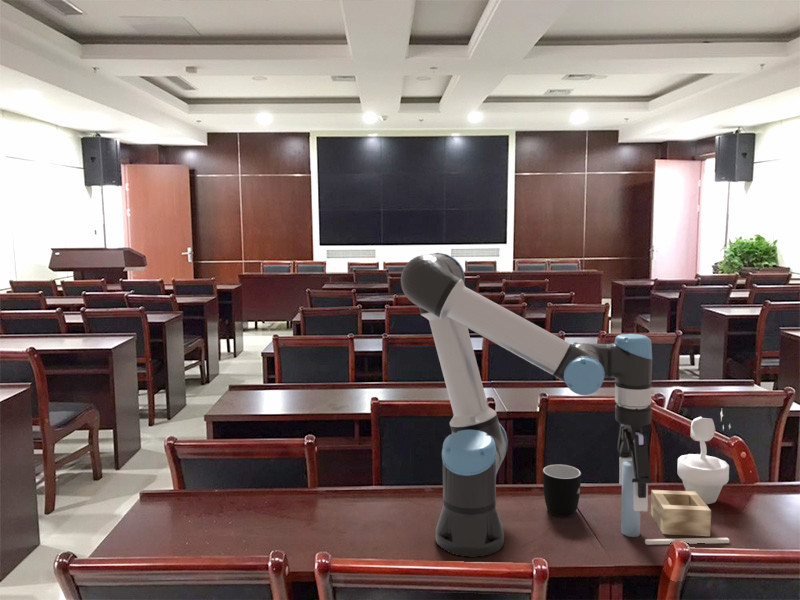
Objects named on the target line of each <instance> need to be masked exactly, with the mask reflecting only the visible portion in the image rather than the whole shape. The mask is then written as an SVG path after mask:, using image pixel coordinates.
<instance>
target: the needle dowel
mask: <svg viewBox="0 0 800 600" xmlns="http://www.w3.org/2000/svg"><path fill="white" fill-rule="evenodd" d="M632 479H635V475H634V468H633V462H632V461H625V462H623V463H622V485H621V509H620V510H621V513H620V514H621V515H620V518H621V519H620V532H621V534H622V535H624V536H625V537H629V538H636V537H639V536H640V535H641V511H634V509H633V507H634V482H632Z"/></svg>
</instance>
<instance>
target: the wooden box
mask: <svg viewBox="0 0 800 600" xmlns="http://www.w3.org/2000/svg"><path fill="white" fill-rule="evenodd" d="M650 496H651V497H650V516H651V517H652V518H653V520H654V522H655V523H656V525H657V526H658V528H659V530H660V532H661V533H662V535H675V536H696V537H711V521H712V510H711V508H709V506H708V504H705V503H704V501H703V500H702V499H701V498H700V496H699V495H698V494H697V493H696V492H694V491H686V490H663V489H651V491H650Z"/></svg>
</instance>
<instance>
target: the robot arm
mask: <svg viewBox="0 0 800 600" xmlns="http://www.w3.org/2000/svg"><path fill="white" fill-rule="evenodd" d="M400 275H401V276H400V286H401V289H402V292H403V294H404V296H405V297H406V298H407V300H409V301H410V302H411V303H412V304H414V305H416V306H417V307H418V308H419V314H420V316H422V317H424V318H425V319H427V320H428V321H429V326H430V327H429V328H430V329H431V334H432V337H433V341H434V344H435V348H436V349H435V350H436V352H437V357H438V360H439V363H440V368H441V372H442V376H443V378H444V383H445V386H446V387H445V388H446V391H447V395H448V398H449V402H450V406H451V410H452V414H453V416H452V418H451V419H450V421H449V426H450V429H451V434H449V435H448V436H446V437H445V439H444V441H443V443H442V449H441V460H442V502H443V503H442V504H443V505H442V509H441V511H440V514H439V518H438V522H437V524H436V527H435V542H436V544H437V546H438V545H439V546H440V547H441V548H440V547H439V546H438V547H439V548H440V549H442V548H443V549H444V550H443V549H442V550H443V551H445V550H446V551H449V552H451V553H454V554H457V555H456V556H458V555H462V556H461V557H464V556H469V557H468V558H478V557H477V556H481V557H486V556H485V555H487V556H490V555H493V554H494V553H496V552H499V551H500V550H501V549H502V548H503V546H504V543H505V532H504V528H503V525H502V521H501V519H500V515H499V512H498V510H497V503H496V501H497V487H496V486H497V474H498V471H499V470H500V467H501V465H502V463H503V461H504V459H505V458H506V455H507V451H508V446H509V445H508V444H509V443H508V437H507V432H506V430H505V428H504V427H503V425H502V424H501V423H500V422H499V418H498V414H497V411H496V410H494V409H493V408H491V407H490V406H489V404H488V400H487V398H486V397H487V396H486V393H485V389H484V386H483V382H482V378H481V375H480V369H479V366H478V363H477V358H476V354H475V350H474V348H473V347H474V346H473V343H472V339H471V337H470V336H471V335H470V333H469V332H470V331H469V330H471V331H473V332H474V333H476V334H478V335H480V336H481V337H483V338H486V339H487V340H489V341H490V342H492V343H493V344H495V345H498V346H500V347H501V348H503V349H505V350H506V351H508V352H510V353H512V354H513V355H516V356H518V357H519V358H521V359H523V360H524V361H527V362H529V364H532V365H534V366H535V367H537V368H539V369H541V370H542V371H544V372H545V373H546V372H547V373H548V374H550V375H552V376H554V377H555V378H556V379H559V381H562V382H564V383H565V385H566V386H567V387H568V389H569V391H572V393H574V394H577V395H579V396H588V395H589V396H590V395H593V394H594V393H596V392H598V390H599V389H600V388H601V387H602V385H603V383H604V380H605V378H610V379H612V378H614V381H615V383H614V402H615V403H616V404H615V405H614V408H615V409H614V410H615V411H614V413H615V414H614V419H615V421H616V422H617V423H619V432H618V440H617V447H616V450H617V452H618V455H619V458H618V459H619V463H618V464H619V473H618V475H619V479H618V481H619V482H618V483H619V485H620V486H622V463H623V462H625V461H632V462H633V468H634V475H635V479H632V482H634V507H633V509H634V511H640V512H648V508H649V505H648V504H649V503H648V502H649V501H648V499H649V498H648V497H649V494H648V493H649V484H651V483H652V478H651V477H652V476H651V468H650V460H649V451H648V450H649V449H648V435H647V434H645V432H644V431H643V427H644V426H647V425H650V424H651V423H652V416H653V415H652V414H653V413H652V409H653V408H652V406H651V404H652V395H654V394H655V390H654V389H652V384H653V383H652V381H653V379H652V377H653V350H652V347H653V346H652V339H650V337H649V336H647V335H644V334H641V333H640V334H638V333H628V334H627V333H626V334H625V333H622V334H618V335H617V336H615V339H614V342H612V343H588V342H587V343H585V342H583V343H582V342H577V341H575V342H568V341H566V340H564V339H562V338H560V337H559V336H557V335H555V334H554V333H551V332H550V331H548V330H547V329H545V328H542V327H540V326H539V325H537V324H535V323H534V322H531V321H529V320H528V319H526V318H524V317H522V316H520V315H518V314H516V313H515V312H513V311H511V310H509V309H507V308H506V307H504V306H501V305H500V304H498V303H496V302H494V301H492V300H490V299H489V298H488V297H485V296H484V295H481V294H480V293H478V292H476V291H474V290H472V289H470V288H468V287H466V285H465V281H466V279H465V276H466V275H465V272H464V268H463V267H462V264H461V263H460V262H459V261H458V260H457V259H456V258H454V257H453V256H451V255H448V254H446V253H443V252H436V253H429V254H422V255H418V256H416V257H414V258H413V257H412V259H410V260H409V261H408V262H407V263H406V264H405V266H404V268H403V269H402V272H401V274H400ZM446 551H445V552H446ZM449 552H448V553H449ZM451 553H450V554H451ZM492 553H493V554H492ZM454 554H453V555H454ZM489 554H490V555H489Z"/></svg>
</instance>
